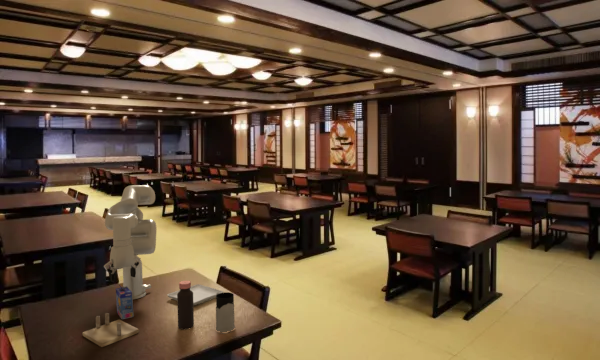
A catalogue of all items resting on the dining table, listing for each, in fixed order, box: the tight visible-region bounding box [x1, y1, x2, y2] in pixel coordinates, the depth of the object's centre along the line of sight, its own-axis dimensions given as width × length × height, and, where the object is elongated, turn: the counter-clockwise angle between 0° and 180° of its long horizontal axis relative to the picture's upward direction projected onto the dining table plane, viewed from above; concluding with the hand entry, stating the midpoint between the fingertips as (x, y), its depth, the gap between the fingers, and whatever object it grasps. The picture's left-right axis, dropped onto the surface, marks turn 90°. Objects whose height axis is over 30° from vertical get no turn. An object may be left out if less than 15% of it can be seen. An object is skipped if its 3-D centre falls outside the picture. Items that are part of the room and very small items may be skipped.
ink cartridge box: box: [115, 284, 135, 320], centre depth 191 cm, size 10×6×14 cm, turn 37°
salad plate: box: [166, 283, 224, 306], centre depth 213 cm, size 21×21×3 cm
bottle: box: [176, 280, 195, 330], centre depth 178 cm, size 7×7×20 cm
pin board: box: [82, 312, 140, 348], centre depth 172 cm, size 16×16×6 cm
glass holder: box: [215, 291, 236, 332], centre depth 179 cm, size 9×14×15 cm, turn 32°
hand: (123, 279), depth 189 cm, fingers open, 9 cm apart
